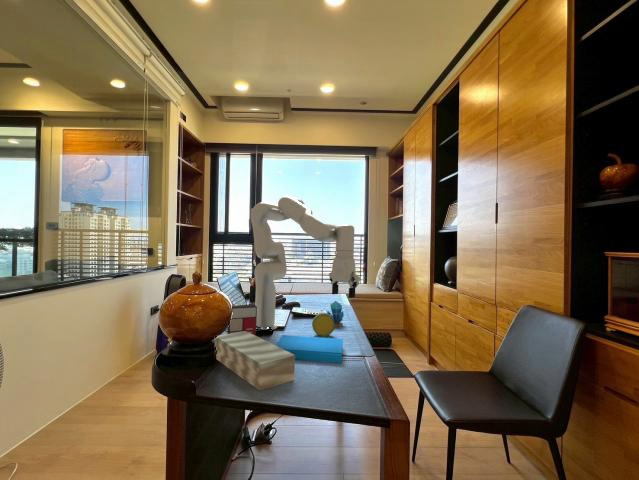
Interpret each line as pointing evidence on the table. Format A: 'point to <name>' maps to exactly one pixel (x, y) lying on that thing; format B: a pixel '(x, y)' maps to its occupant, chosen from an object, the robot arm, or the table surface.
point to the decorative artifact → (323, 324)
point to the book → (312, 348)
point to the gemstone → (336, 313)
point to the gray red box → (243, 319)
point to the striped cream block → (255, 359)
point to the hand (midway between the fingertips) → (343, 295)
